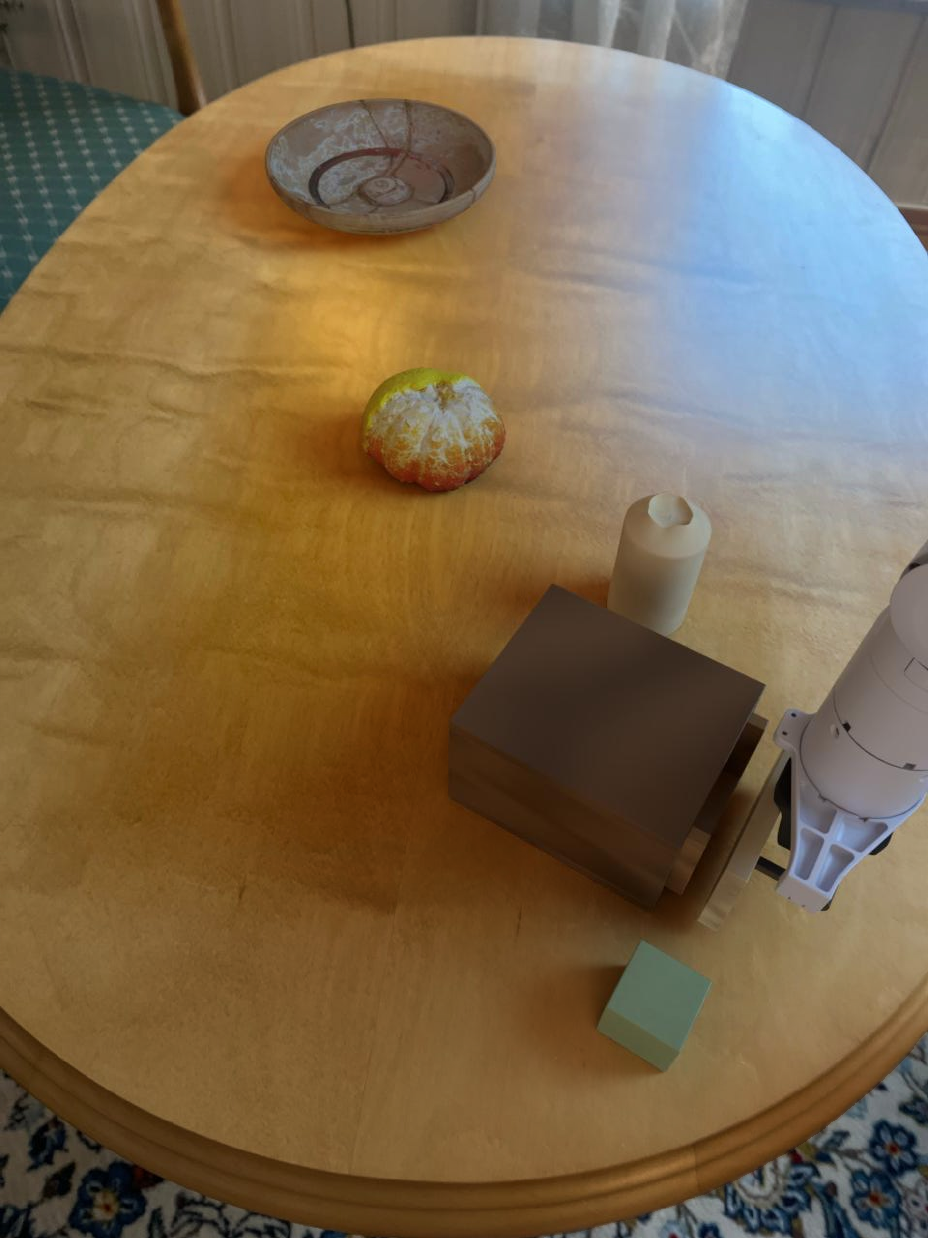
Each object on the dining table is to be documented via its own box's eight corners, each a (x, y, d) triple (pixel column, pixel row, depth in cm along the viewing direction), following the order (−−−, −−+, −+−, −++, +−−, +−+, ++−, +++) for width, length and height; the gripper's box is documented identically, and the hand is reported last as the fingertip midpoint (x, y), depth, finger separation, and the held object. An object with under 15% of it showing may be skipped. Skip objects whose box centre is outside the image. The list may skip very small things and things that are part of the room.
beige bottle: (699, 626, 67) (733, 527, 59) (628, 649, 66) (654, 551, 58) (660, 570, 70) (688, 468, 63) (592, 591, 69) (612, 490, 61)
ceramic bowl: (231, 179, 103) (223, 131, 99) (420, 124, 111) (419, 78, 108) (337, 286, 91) (333, 237, 88) (539, 216, 100) (543, 169, 96)
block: (696, 1005, 52) (713, 981, 48) (665, 1073, 49) (680, 1053, 46) (629, 964, 53) (640, 938, 50) (595, 1029, 51) (605, 1006, 48)
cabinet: (730, 761, 61) (766, 684, 54) (650, 914, 55) (680, 848, 48) (541, 665, 65) (552, 582, 58) (447, 796, 59) (448, 721, 52)
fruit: (359, 503, 73) (351, 403, 69) (370, 444, 82) (364, 351, 77) (507, 503, 73) (509, 402, 69) (502, 444, 82) (504, 351, 77)
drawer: (852, 823, 57) (894, 766, 52) (789, 974, 52) (829, 927, 46) (599, 695, 63) (614, 631, 57) (518, 819, 57) (527, 762, 52)
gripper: (863, 563, 47) (777, 711, 57) (750, 793, 39) (675, 914, 50) (1012, 630, 44) (893, 770, 55) (923, 886, 37) (805, 990, 48)
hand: (798, 843), depth 52 cm, fingers closed, pressing on drawer
